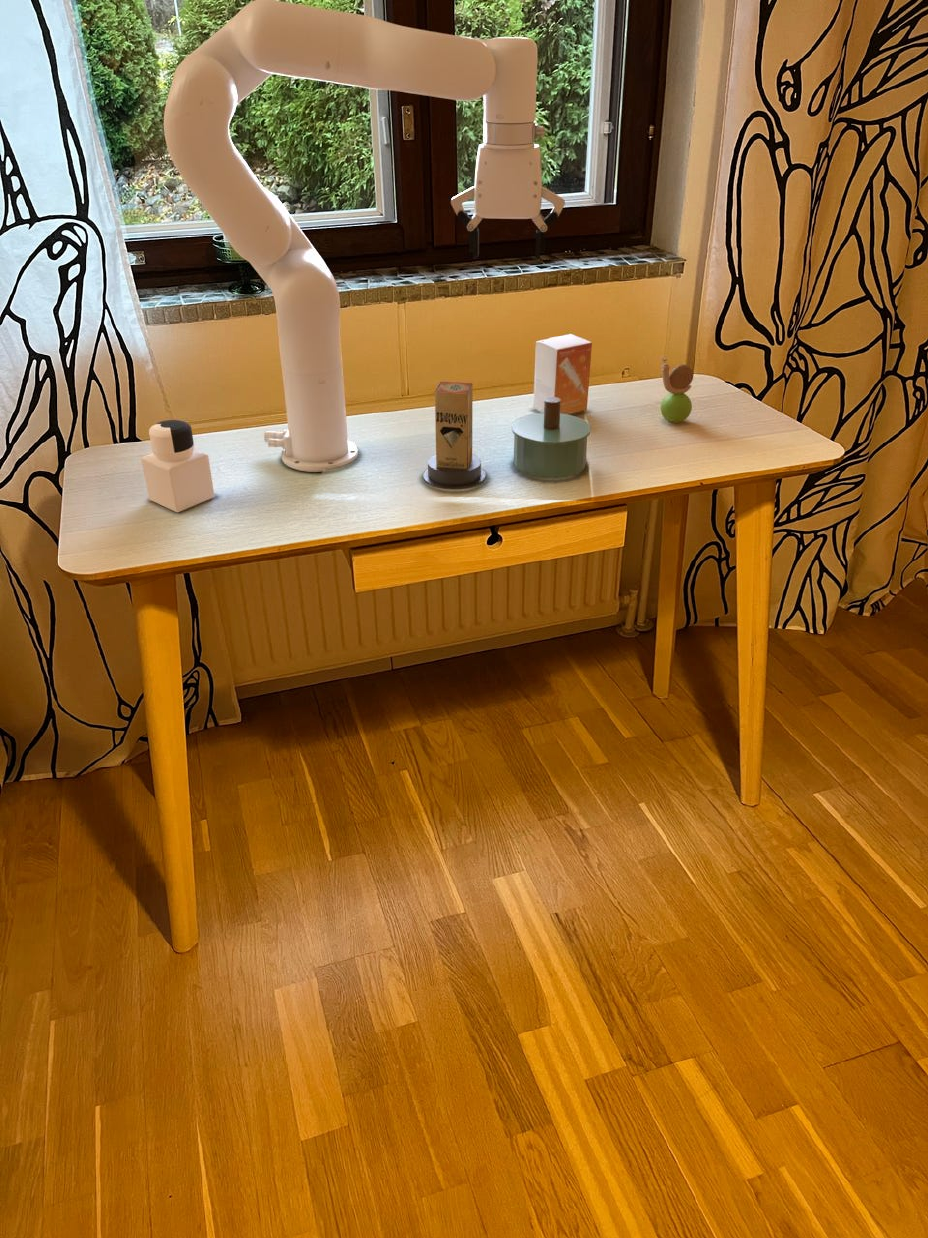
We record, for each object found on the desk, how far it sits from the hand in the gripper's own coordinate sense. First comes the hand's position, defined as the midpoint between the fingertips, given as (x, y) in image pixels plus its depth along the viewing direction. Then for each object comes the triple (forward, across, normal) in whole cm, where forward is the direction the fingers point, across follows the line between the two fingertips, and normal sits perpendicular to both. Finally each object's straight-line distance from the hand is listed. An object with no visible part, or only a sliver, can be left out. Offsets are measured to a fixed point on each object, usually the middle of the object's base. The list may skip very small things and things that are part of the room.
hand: (506, 256), depth 152 cm
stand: (+30, +7, +17) cm, 35 cm away
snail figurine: (+31, -30, -10) cm, 44 cm away
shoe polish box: (+28, +7, +17) cm, 33 cm away
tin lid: (+24, -8, +11) cm, 28 cm away
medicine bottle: (+31, +48, +27) cm, 63 cm away
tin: (+30, -8, +11) cm, 33 cm away
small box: (+31, -10, -14) cm, 35 cm away
